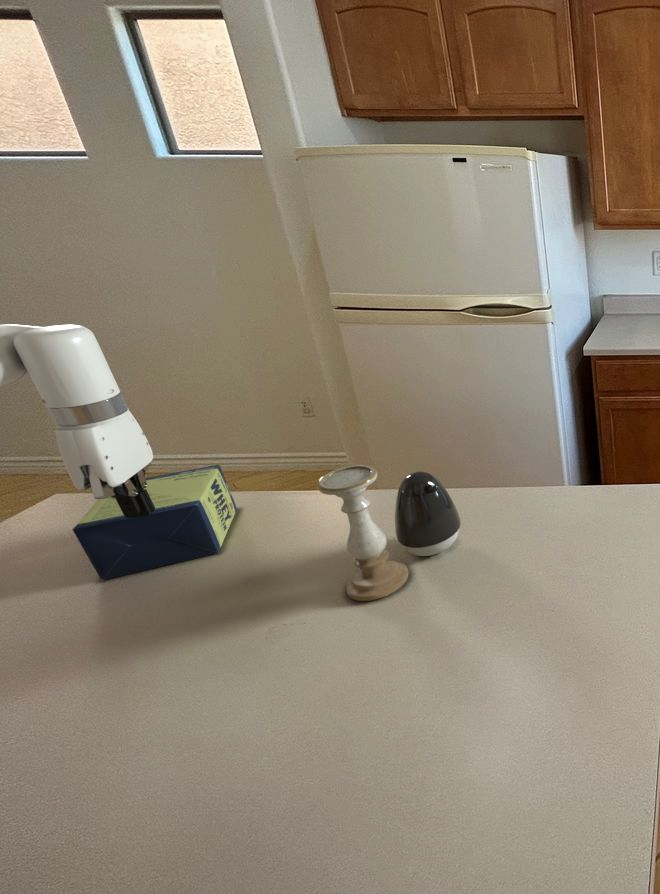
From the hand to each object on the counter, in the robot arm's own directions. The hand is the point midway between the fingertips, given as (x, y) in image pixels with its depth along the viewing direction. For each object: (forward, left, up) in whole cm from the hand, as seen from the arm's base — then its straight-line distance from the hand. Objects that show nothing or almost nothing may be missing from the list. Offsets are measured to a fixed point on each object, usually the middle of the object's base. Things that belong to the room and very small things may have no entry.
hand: (140, 513), depth 89 cm
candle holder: (+35, -13, -11) cm, 39 cm away
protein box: (-1, +1, -6) cm, 6 cm away
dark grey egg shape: (+42, -5, -11) cm, 44 cm away
